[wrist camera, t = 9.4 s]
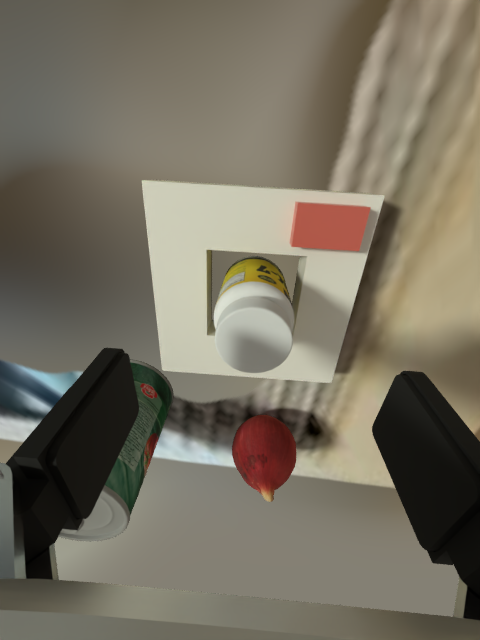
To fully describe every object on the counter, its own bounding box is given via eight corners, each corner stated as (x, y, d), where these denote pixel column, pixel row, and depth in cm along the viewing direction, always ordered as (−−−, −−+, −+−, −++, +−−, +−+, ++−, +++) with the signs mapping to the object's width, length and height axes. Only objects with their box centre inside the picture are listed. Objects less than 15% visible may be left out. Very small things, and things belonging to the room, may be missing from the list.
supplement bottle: (296, 288, 21) (320, 350, 13) (250, 322, 22) (248, 393, 15) (257, 240, 19) (260, 280, 12) (211, 280, 21) (187, 338, 13)
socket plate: (155, 179, 18) (134, 180, 14) (368, 193, 17) (392, 196, 14) (170, 353, 24) (158, 378, 21) (324, 364, 24) (334, 391, 21)
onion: (229, 430, 29) (221, 512, 22) (242, 391, 26) (238, 471, 19) (281, 440, 29) (289, 524, 22) (299, 404, 26) (315, 486, 19)
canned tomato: (98, 348, 24) (-4, 460, 15) (181, 373, 25) (136, 493, 16) (92, 406, 28) (7, 526, 18) (165, 426, 29) (120, 550, 19)
